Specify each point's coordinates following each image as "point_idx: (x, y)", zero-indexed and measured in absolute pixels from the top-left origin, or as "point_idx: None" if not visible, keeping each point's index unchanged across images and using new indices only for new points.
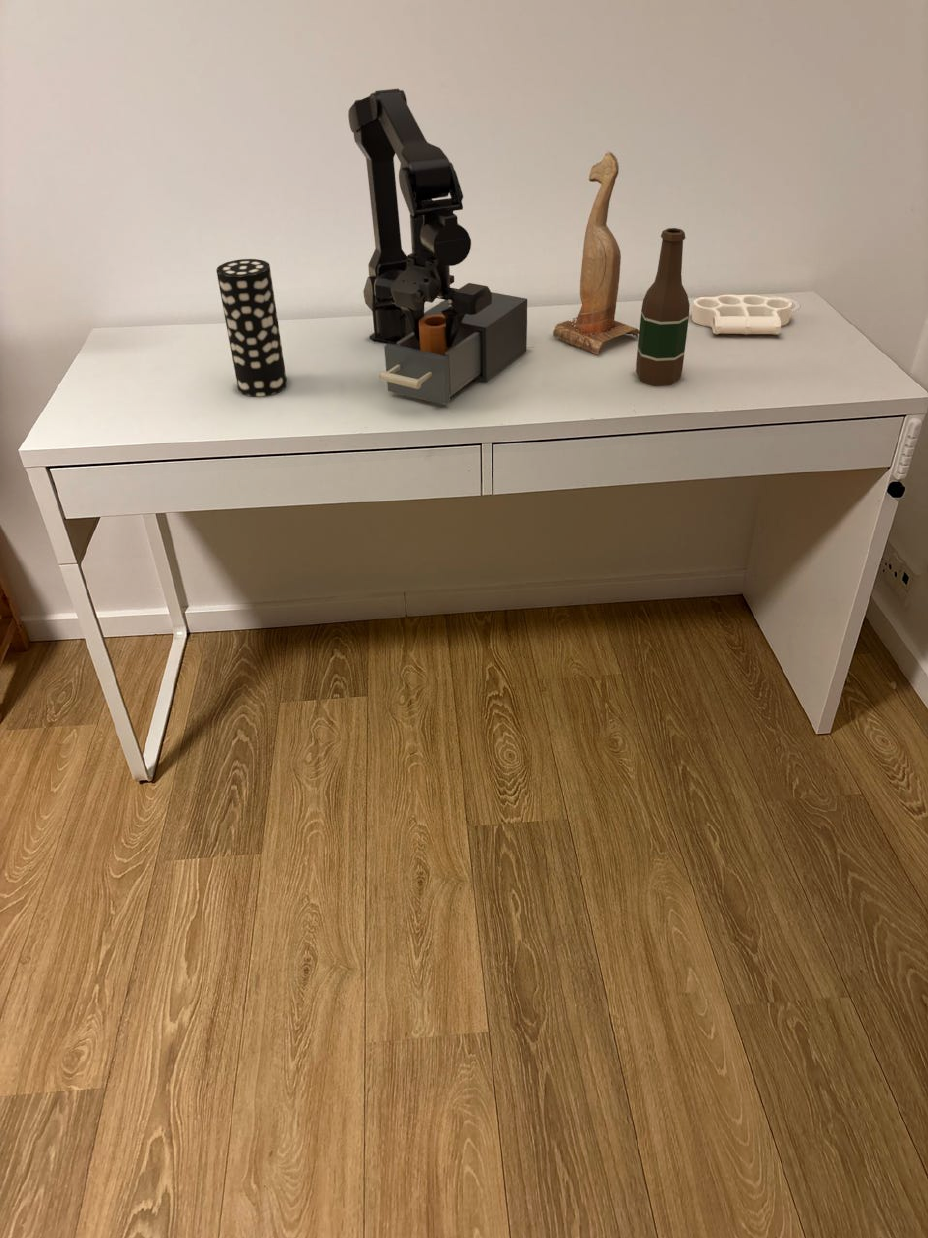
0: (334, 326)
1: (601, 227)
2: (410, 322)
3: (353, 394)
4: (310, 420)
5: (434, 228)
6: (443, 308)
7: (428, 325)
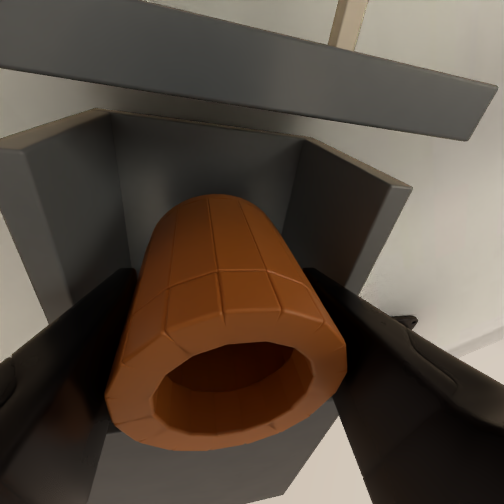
0: (470, 324)
1: None
2: (397, 326)
3: (438, 52)
4: None
5: None
6: (291, 441)
7: (255, 338)
